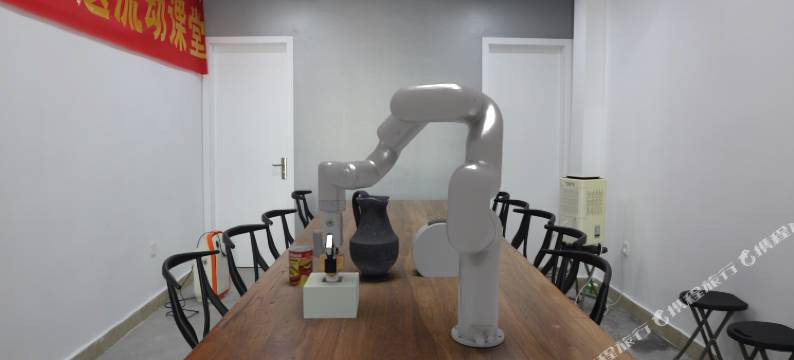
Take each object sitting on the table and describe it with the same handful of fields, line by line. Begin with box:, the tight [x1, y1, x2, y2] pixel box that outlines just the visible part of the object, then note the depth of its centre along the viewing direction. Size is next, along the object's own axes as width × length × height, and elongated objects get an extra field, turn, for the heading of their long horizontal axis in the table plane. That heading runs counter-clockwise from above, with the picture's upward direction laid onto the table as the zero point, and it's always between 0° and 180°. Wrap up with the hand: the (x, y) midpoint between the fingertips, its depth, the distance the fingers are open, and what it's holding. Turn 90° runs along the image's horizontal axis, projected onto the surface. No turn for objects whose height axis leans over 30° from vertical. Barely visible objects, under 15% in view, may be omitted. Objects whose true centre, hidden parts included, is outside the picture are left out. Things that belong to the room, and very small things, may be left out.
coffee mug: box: [312, 228, 325, 258], centre depth 194 cm, size 13×10×10 cm
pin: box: [319, 252, 345, 282], centre depth 131 cm, size 7×7×12 cm
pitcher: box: [348, 189, 400, 282], centre depth 163 cm, size 17×21×30 cm
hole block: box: [302, 271, 360, 319], centre depth 131 cm, size 14×14×8 cm
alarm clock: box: [410, 218, 460, 278], centre depth 167 cm, size 21×8×20 cm, turn 92°
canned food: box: [288, 245, 314, 288], centre depth 155 cm, size 8×8×12 cm
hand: (332, 268), depth 131 cm, fingers closed on pin, 6 cm apart
